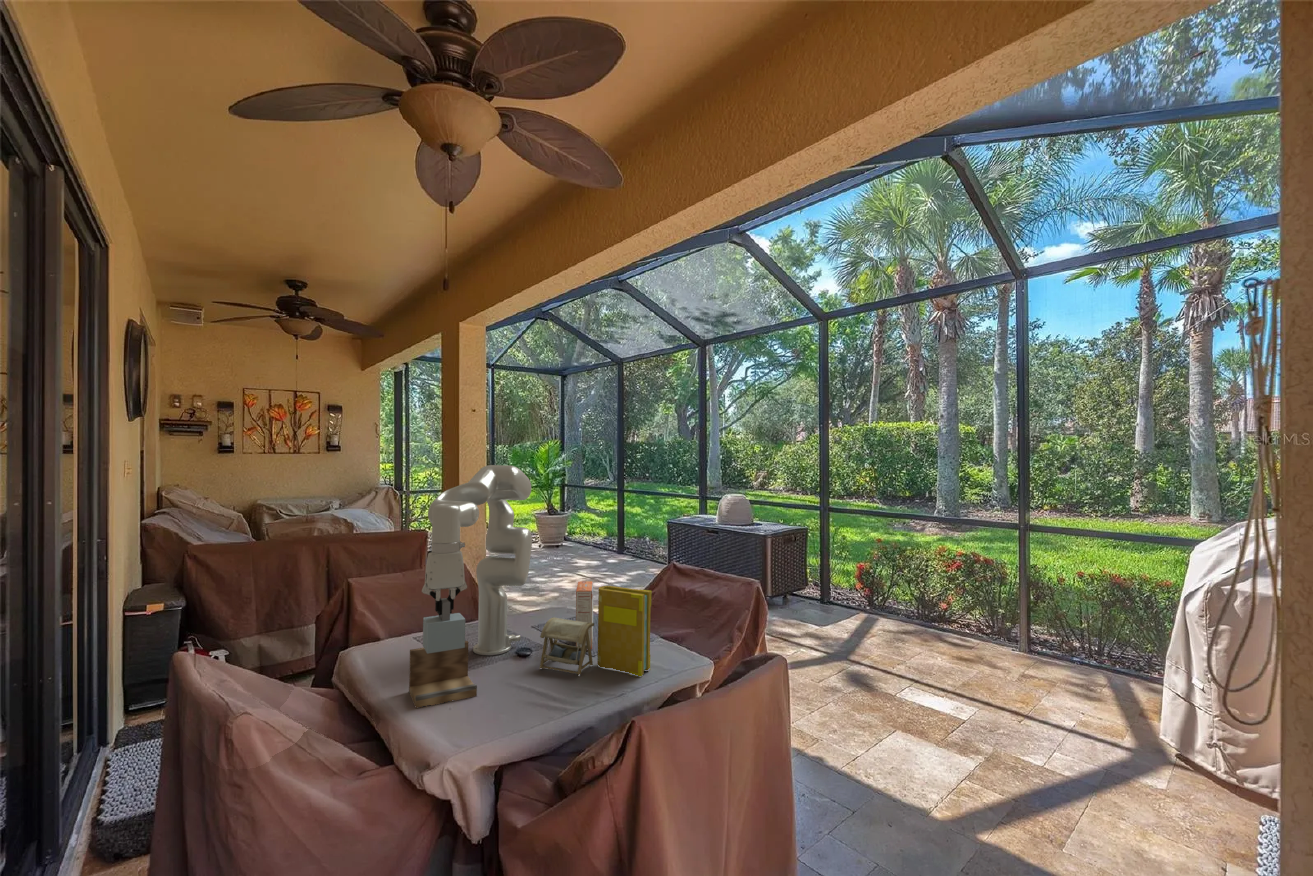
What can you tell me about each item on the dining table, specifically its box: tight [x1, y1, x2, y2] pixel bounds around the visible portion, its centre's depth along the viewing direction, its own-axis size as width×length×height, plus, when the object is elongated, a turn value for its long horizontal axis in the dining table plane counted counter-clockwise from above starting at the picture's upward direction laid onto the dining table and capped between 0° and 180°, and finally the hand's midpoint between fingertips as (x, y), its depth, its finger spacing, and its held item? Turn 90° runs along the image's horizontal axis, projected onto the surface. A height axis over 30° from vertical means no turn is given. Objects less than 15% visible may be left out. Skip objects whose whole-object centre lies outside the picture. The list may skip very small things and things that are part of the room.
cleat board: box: [408, 640, 478, 709], centre depth 165 cm, size 16×12×12 cm
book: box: [596, 585, 652, 677], centre depth 186 cm, size 17×7×25 cm, turn 65°
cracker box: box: [575, 580, 594, 650], centre depth 209 cm, size 14×6×21 cm, turn 5°
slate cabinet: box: [422, 597, 466, 654], centre depth 165 cm, size 10×7×13 cm
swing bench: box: [539, 617, 595, 675], centre depth 186 cm, size 15×10×15 cm, turn 70°
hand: (444, 612), depth 165 cm, fingers closed on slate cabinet
